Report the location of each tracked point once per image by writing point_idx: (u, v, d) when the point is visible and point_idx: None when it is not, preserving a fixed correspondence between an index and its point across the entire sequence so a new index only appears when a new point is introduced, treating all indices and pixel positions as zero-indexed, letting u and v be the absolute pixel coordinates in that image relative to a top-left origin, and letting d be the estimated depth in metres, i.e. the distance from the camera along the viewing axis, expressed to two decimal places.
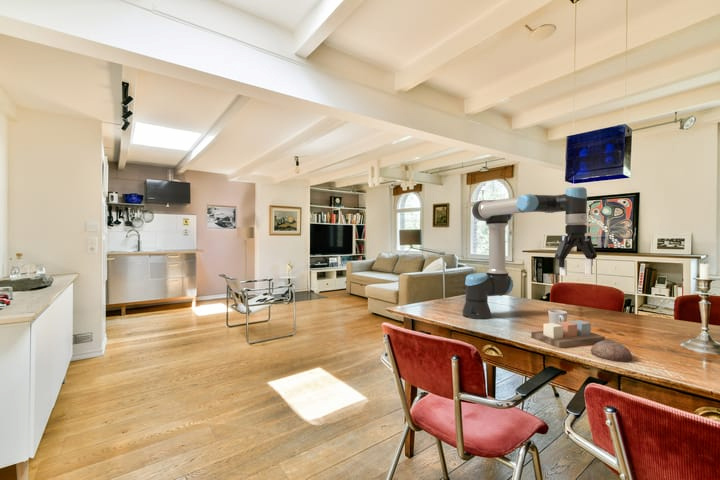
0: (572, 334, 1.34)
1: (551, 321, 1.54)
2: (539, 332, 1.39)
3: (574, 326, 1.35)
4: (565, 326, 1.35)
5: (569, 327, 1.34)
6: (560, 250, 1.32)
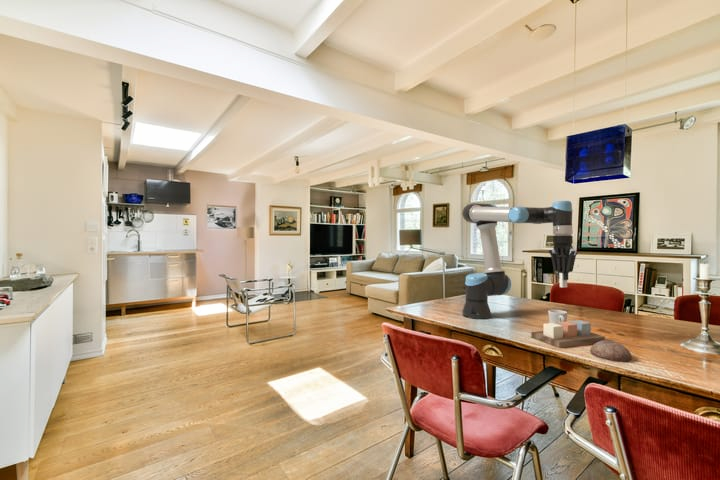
0: (572, 334, 1.34)
1: (551, 321, 1.54)
2: (539, 332, 1.39)
3: (574, 326, 1.35)
4: (565, 326, 1.35)
5: (569, 327, 1.34)
6: None
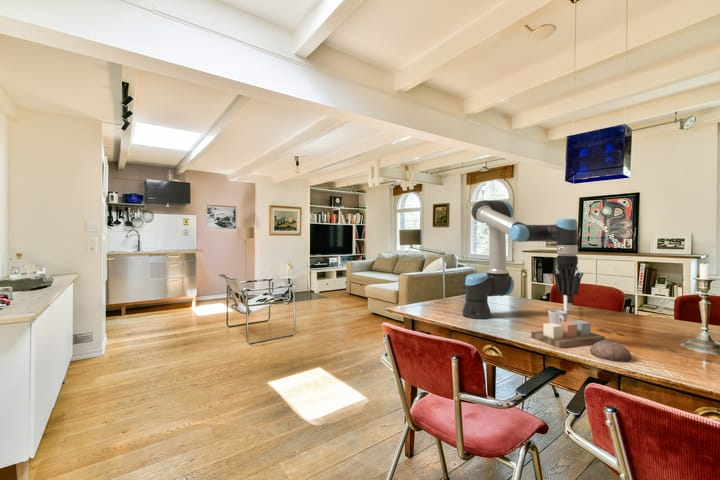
0: (572, 334, 1.34)
1: (551, 321, 1.54)
2: (539, 332, 1.39)
3: (574, 326, 1.35)
4: (565, 326, 1.35)
5: (569, 327, 1.34)
6: None
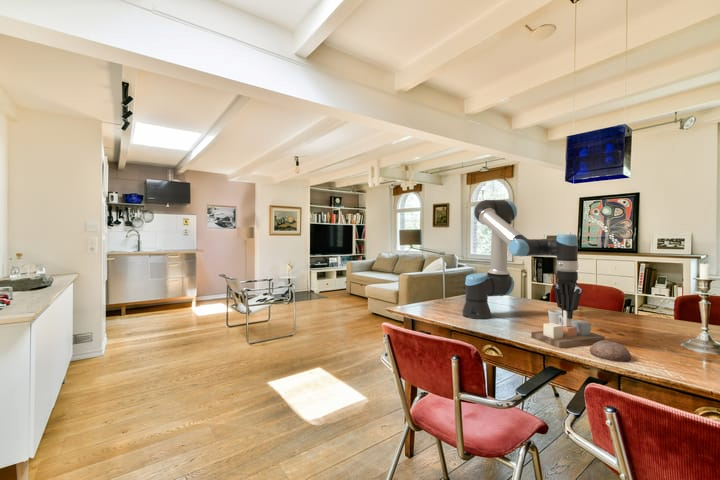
0: None
1: (551, 321, 1.54)
2: (539, 332, 1.39)
3: (574, 329, 1.35)
4: (565, 329, 1.35)
5: (569, 330, 1.34)
6: None
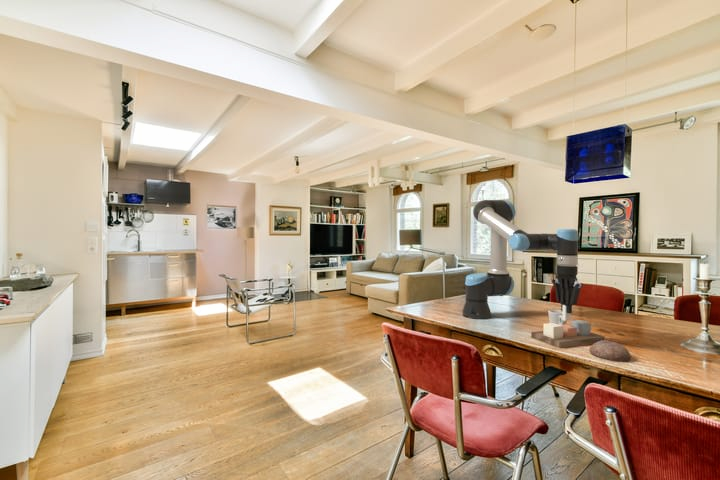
0: None
1: (551, 321, 1.54)
2: (539, 332, 1.39)
3: (574, 329, 1.35)
4: (565, 329, 1.35)
5: (569, 330, 1.34)
6: None
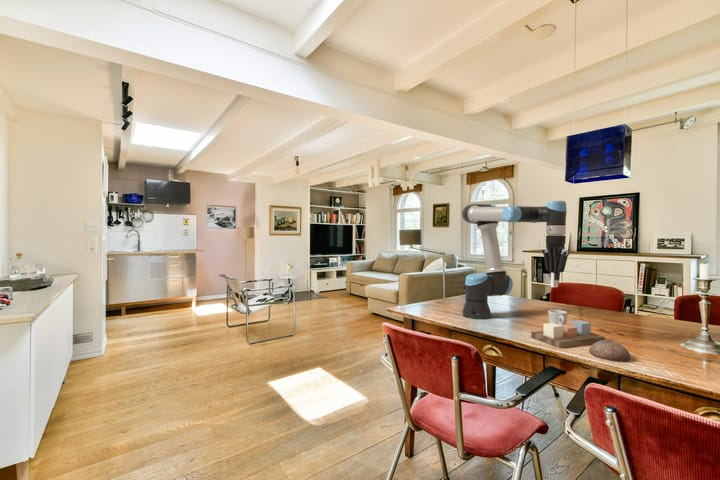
0: None
1: (551, 321, 1.54)
2: (539, 332, 1.39)
3: (574, 329, 1.35)
4: (565, 329, 1.35)
5: (569, 330, 1.34)
6: None
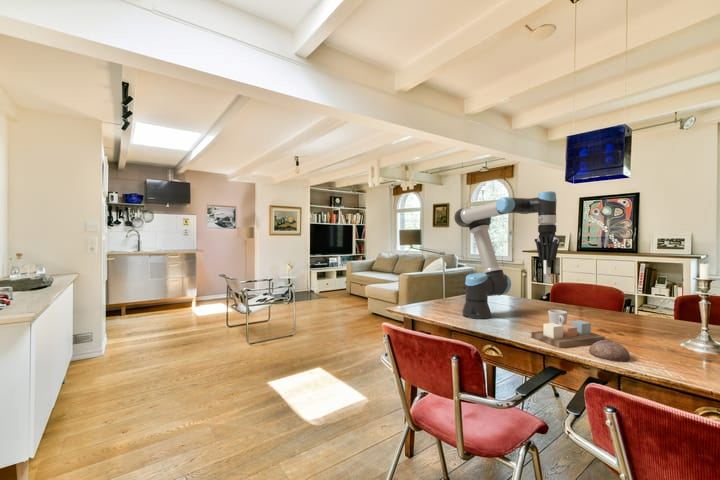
0: None
1: (551, 321, 1.54)
2: (539, 332, 1.39)
3: (574, 329, 1.35)
4: (565, 329, 1.35)
5: (569, 330, 1.34)
6: None
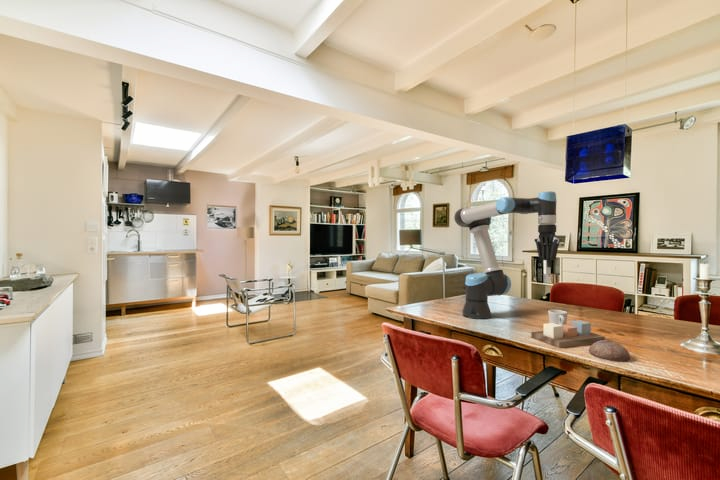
0: None
1: (551, 321, 1.54)
2: (539, 332, 1.39)
3: (574, 329, 1.35)
4: (565, 329, 1.35)
5: (569, 330, 1.34)
6: None
